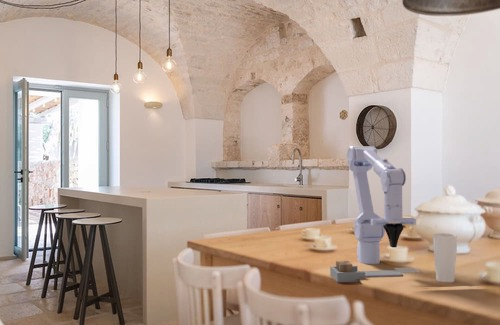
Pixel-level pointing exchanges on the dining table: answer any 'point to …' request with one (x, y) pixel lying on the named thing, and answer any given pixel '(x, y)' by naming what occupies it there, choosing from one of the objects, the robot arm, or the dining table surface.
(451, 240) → the drinking glass
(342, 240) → the dining table surface
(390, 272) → the grey square pan
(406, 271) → the plate
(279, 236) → the dining table surface
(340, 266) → the block
